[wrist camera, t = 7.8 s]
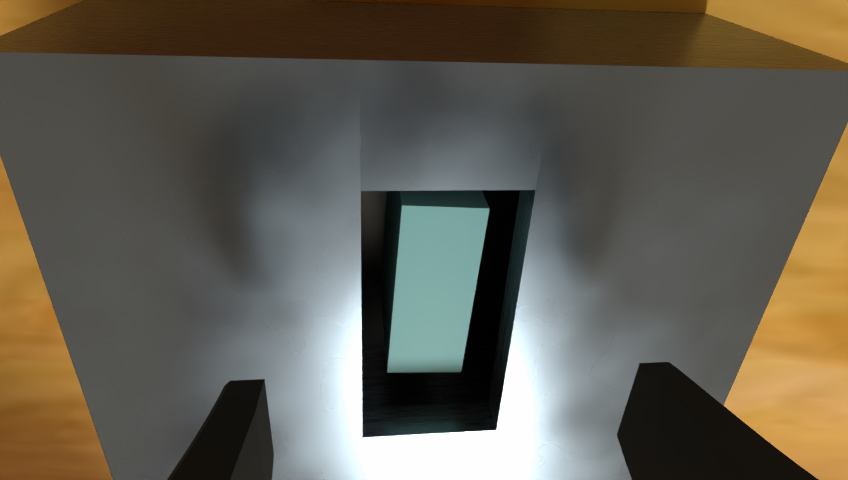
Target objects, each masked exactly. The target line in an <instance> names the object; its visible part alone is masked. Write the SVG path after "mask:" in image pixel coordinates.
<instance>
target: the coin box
mask: <svg viewBox="0 0 848 480" xmlns="http://www.w3.org/2000/svg"><path fill="white" fill-rule="evenodd" d="M847 123H848V63H845V62H843V61H840V60H837V59H834V58H831V57H828V56H825V55H823V54H820V53H817V52H814V51H811V50H808V49H805V48H803V47H800V46H797V45H794V44H791V43H788V42H785V41H783V40H780V39H777V38H774V37H771V36H768V35H765V34H763V33H760V32H757V31H754V30H751V29H748V28H745V27H743V26H740V25H737V24H734V23H731V22H728V21H725V20H723V19H720V18H717V17H714V16H711V15H708V14H696V13H666V12H637V11H607V10H578V9H548V8H519V7H489V6H460V5H430V4H401V3H371V2H342V1H312V0H84V1H82V2H79V3H77V4H74V5H72V6H70V7H67V8H65V9H63V10H60V11H58V12H56V13H53V14H51V15H49V16H46V17H44V18H41V19H39V20H37V21H34V22H32V23H30V24H27V25H25V26H23V27H20V28H18V29H16V30H13V31H11V32H8V33H6V34H4V35H1V36H0V155H1V158H2V161H3V164H4V167H5V170H6V173H7V176H8V178H9V181H10V184H11V187H12V190H13V193H14V196H15V199H16V201H17V204H18V207H19V210H20V213H21V216H22V219H23V222H24V224H25V227H26V230H27V233H28V236H29V239H30V242H31V245H32V247H33V250H34V253H35V256H36V259H37V262H38V265H39V268H40V270H41V273H42V276H43V279H44V282H45V285H46V288H47V291H48V293H49V296H50V299H51V302H52V305H53V308H54V311H55V314H56V316H57V319H58V322H59V325H60V328H61V331H62V334H63V337H64V340H65V342H66V345H67V348H68V351H69V354H70V357H71V360H72V363H73V365H74V368H75V371H76V374H77V377H78V380H79V383H80V386H81V388H82V391H83V394H84V397H85V400H86V403H87V406H88V409H89V411H90V414H91V417H92V420H93V423H94V426H95V429H96V432H97V434H98V437H99V440H100V443H101V446H102V449H103V452H104V455H105V457H106V460H107V463H108V466H109V469H110V472H111V475H112V478H113V480H167V479H168V477H169V476H170V474H171V473H172V471H173V470H174V468H175V467H176V465H177V464H178V462H179V461H180V459H181V458H182V456H183V455H184V453H185V452H186V450H187V449H188V447H189V446H190V444H191V443H192V441H193V439H194V438H195V436H196V435H197V433H198V431H199V430H200V428H201V426H202V425H203V423H204V421H205V420H206V418H207V416H208V415H209V413H210V411H211V409H212V408H213V406H214V404H215V402H216V401H217V399H218V397H219V395H220V393H221V391H222V389H223V387H224V386H225V385H226V384H227V383H228V382H229V381H232V380H256V379H265V386H266V394H267V402H268V410H269V418H270V427H271V435H272V443H273V451H274V461H273V473H272V480H632V479H631V476H630V473H629V470H628V468H627V465H626V462H625V459H624V456H623V453H622V449H621V446H620V443H619V440H618V437H617V432H618V429H619V426H620V423H621V420H622V417H623V414H624V410H625V407H626V404H627V401H628V398H629V395H630V392H631V388H632V385H633V382H634V379H635V376H636V373H637V370H638V367H639V363H653V362H670V363H671V364H672V365H674V366H675V367H676V368H678V369H679V370H680V371H681V372H683V373H684V374H685V375H686V376H688V377H689V378H690V379H691V380H693V381H694V382H695V383H696V384H698V385H699V386H700V387H701V388H702V389H704V390H705V391H706V392H707V393H708V394H710V395H711V396H712V397H713V398H715V399H716V400H717V401H718V402H719V403H721V404H722V405H724V403H725V401H726V398H727V396H728V394H729V391H730V389H731V387H732V385H733V382H734V380H735V378H736V376H737V373H738V371H739V369H740V366H741V364H742V362H743V360H744V357H745V355H746V353H747V350H748V348H749V346H750V344H751V341H752V339H753V337H754V335H755V332H756V330H757V328H758V325H759V323H760V321H761V319H762V316H763V314H764V312H765V309H766V307H767V305H768V303H769V300H770V298H771V296H772V294H773V291H774V289H775V287H776V284H777V282H778V280H779V278H780V275H781V273H782V271H783V269H784V266H785V264H786V262H787V259H788V257H789V255H790V253H791V250H792V248H793V246H794V243H795V241H796V239H797V237H798V234H799V232H800V230H801V228H802V225H803V223H804V221H805V218H806V216H807V214H808V212H809V209H810V207H811V205H812V202H813V200H814V198H815V196H816V193H817V191H818V189H819V187H820V184H821V182H822V180H823V177H824V175H825V173H826V171H827V168H828V166H829V164H830V161H831V159H832V157H833V155H834V152H835V150H836V148H837V146H838V143H839V141H840V139H841V136H842V134H843V132H844V130H845V127H846V125H847ZM440 190H482V192H483V195H484V197H485V199H486V201H487V204H488V206H489V208H490V209H489V215H488V221H487V227H486V232H485V238H484V244H483V250H482V255H481V261H480V267H479V272H478V278H477V284H476V290H475V295H474V301H473V307H472V313H471V318H470V324H469V330H468V335H467V341H466V347H465V353H464V358H463V364H462V370H461V372H412V373H387V364H386V351H385V339H384V326H383V314H382V302H381V289H380V281H381V267H382V253H383V239H384V226H385V212H386V198H387V191H440Z"/></svg>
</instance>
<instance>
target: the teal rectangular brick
mask: <svg viewBox="0 0 848 480" xmlns="http://www.w3.org/2000/svg"><path fill="white" fill-rule="evenodd" d="M489 209H490V208H489V206H488V204H487V201H486V199H485V197H484V195H483V192H482V190H440V191H387V198H386V212H385V226H384V239H383V253H382V267H381V281H380V289H381V302H382V314H383V326H384V339H385V351H386V364H387V373H412V372H461V370H462V364H463V358H464V353H465V347H466V341H467V335H468V330H469V324H470V318H471V313H472V307H473V301H474V295H475V290H476V284H477V278H478V272H479V267H480V261H481V255H482V250H483V244H484V238H485V232H486V227H487V221H488V215H489Z"/></svg>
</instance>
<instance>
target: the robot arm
mask: <svg viewBox="0 0 848 480" xmlns="http://www.w3.org/2000/svg"><path fill="white" fill-rule="evenodd" d="M617 437H618V440H619V443H620V446H621V449H622V453H623V456H624V459H625V462H626V465H627V468H628V470H629V473H630V476H631V479H632V480H818V479H817V478H815V477H814V476H812V475H811V474H810V473H808V472H807V471H806V470H804V469H803V468H802V467H800V466H799V465H797V464H796V463H795V462H794V461H792V460H791V459H790V458H788V457H787V456H786V455H784V454H783V453H782V452H780V451H779V450H778V449H777V448H775V447H774V446H773V445H771V444H770V443H769V442H768V441H766V440H765V439H764V438H763V437H761V436H760V435H759V434H758V433H756V432H755V431H754V430H753V429H751V428H750V427H749V426H748V425H746V424H745V423H744V422H743V421H741V420H740V419H739V418H738V417H736V416H735V415H734V414H733V413H732V412H730V411H729V410H728V409H727V408H726V407H724V406H723V405H722V404H721V403H719V402H718V401H717V400H716V399H715V398H713V397H712V396H711V395H710V394H708V393H707V392H706V391H705V390H704V389H702V388H701V387H700V386H699V385H698V384H696V383H695V382H694V381H693V380H691V379H690V378H689V377H688V376H686V375H685V374H684V373H683V372H681V371H680V370H679V369H678V368H676V367H675V366H674V365H672V364H671V363H670V362H653V363H639V367H638V370H637V373H636V376H635V379H634V382H633V385H632V388H631V392H630V395H629V398H628V401H627V404H626V407H625V410H624V414H623V417H622V420H621V423H620V426H619V429H618V432H617ZM273 461H274V451H273V443H272V435H271V427H270V418H269V410H268V402H267V394H266V386H265V379H256V380H232V381H229V382H228V383H227V384H226V385H225V386H224V387H223V389H222V391H221V393H220V395H219V397H218V399H217V401H216V402H215V404H214V406H213V408H212V409H211V411H210V413H209V415H208V416H207V418H206V420H205V421H204V423H203V425H202V426H201V428H200V430H199V431H198V433H197V435H196V436H195V438H194V439H193V441H192V443H191V444H190V446H189V447H188V449H187V450H186V452H185V453H184V455H183V456H182V458H181V459H180V461H179V462H178V464H177V465H176V467H175V468H174V470H173V471H172V473H171V474H170V476H169V477H168V479H167V480H272V473H273Z"/></svg>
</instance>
